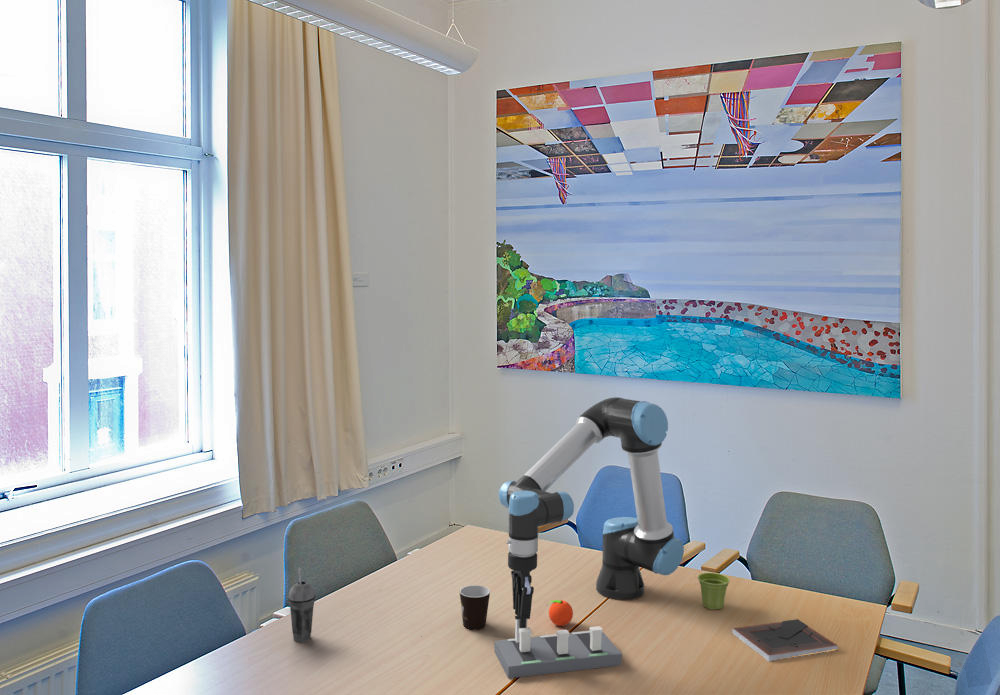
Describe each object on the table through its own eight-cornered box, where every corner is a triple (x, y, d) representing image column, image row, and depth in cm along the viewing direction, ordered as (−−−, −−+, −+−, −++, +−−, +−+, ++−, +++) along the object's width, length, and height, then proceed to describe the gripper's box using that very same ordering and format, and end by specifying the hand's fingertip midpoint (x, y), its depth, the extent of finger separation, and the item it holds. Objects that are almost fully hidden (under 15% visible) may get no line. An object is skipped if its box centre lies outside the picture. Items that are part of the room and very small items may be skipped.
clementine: (541, 627, 220) (542, 602, 219) (548, 617, 226) (549, 593, 226) (569, 631, 217) (569, 607, 216) (575, 621, 223) (576, 597, 223)
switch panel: (600, 640, 212) (601, 629, 212) (621, 665, 198) (621, 653, 198) (494, 651, 204) (494, 640, 204) (508, 678, 191) (508, 665, 191)
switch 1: (528, 648, 199) (529, 627, 199) (531, 651, 198) (531, 630, 197) (518, 649, 199) (518, 628, 198) (520, 652, 197) (521, 631, 196)
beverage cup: (321, 634, 213) (320, 563, 211) (306, 646, 206) (305, 573, 204) (298, 630, 215) (297, 560, 213) (282, 641, 208) (282, 569, 206)
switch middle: (566, 650, 199) (566, 629, 198) (568, 653, 197) (569, 632, 196) (555, 651, 198) (556, 630, 197) (558, 655, 196) (558, 634, 196)
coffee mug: (485, 633, 215) (486, 598, 214) (455, 630, 217) (456, 595, 216) (494, 616, 226) (495, 582, 225) (465, 613, 228) (466, 580, 227)
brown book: (797, 627, 224) (732, 636, 218) (797, 618, 224) (732, 627, 217) (837, 653, 208) (768, 664, 202) (838, 644, 208) (768, 654, 202)
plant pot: (694, 609, 233) (695, 581, 233) (698, 597, 242) (700, 570, 241) (726, 614, 230) (728, 586, 229) (730, 602, 239) (731, 575, 238)
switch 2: (599, 646, 201) (599, 626, 200) (602, 650, 199) (602, 629, 198) (589, 647, 200) (589, 627, 200) (591, 651, 198) (592, 630, 198)
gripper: (502, 544, 204) (500, 631, 206) (515, 562, 192) (513, 654, 194) (529, 542, 206) (527, 628, 208) (544, 560, 194) (542, 651, 196)
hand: (520, 640), depth 201 cm, fingers closed
